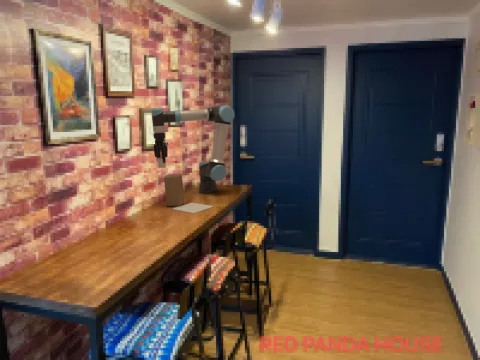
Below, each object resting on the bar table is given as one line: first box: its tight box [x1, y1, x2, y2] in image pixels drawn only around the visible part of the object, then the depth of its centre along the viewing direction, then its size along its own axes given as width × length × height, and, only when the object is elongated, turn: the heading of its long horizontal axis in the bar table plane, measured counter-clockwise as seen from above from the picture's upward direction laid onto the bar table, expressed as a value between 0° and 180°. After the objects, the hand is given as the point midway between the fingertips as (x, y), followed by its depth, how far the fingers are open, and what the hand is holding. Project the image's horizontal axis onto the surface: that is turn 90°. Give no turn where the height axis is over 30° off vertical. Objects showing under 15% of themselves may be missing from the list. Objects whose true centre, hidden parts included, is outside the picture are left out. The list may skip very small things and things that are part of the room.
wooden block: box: [163, 173, 186, 207], centre depth 244 cm, size 10×10×20 cm
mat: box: [171, 202, 215, 215], centre depth 236 cm, size 18×20×1 cm
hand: (162, 167), depth 248 cm, fingers open, 3 cm apart
